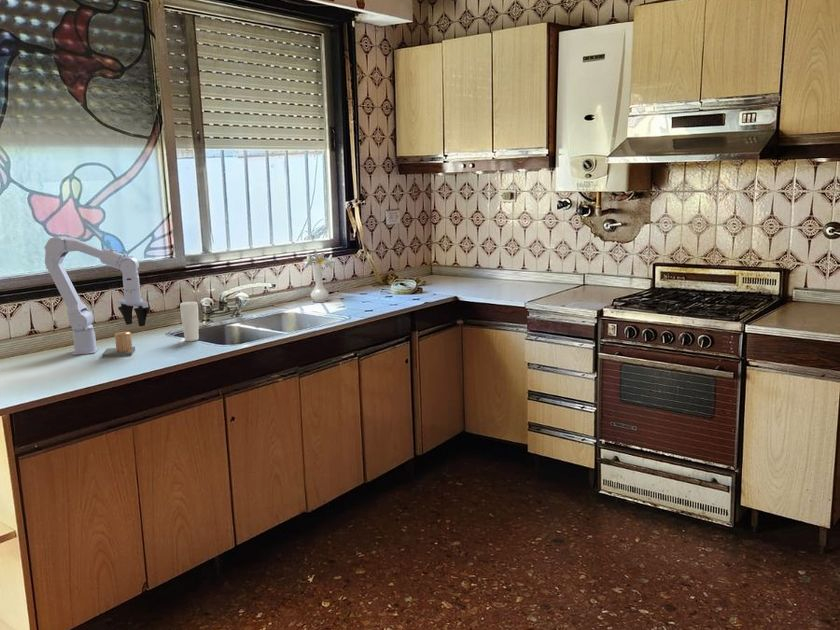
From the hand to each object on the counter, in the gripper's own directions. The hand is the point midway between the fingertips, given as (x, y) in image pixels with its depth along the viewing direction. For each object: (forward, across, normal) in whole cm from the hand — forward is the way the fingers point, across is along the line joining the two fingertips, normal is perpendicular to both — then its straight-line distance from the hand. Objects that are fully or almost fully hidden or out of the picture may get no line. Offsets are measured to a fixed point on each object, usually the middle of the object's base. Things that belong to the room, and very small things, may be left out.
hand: (135, 325), depth 280 cm
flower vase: (+10, +5, -114) cm, 114 cm away
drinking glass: (+10, -6, -20) cm, 24 cm away
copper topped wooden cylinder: (+8, -1, +7) cm, 11 cm away
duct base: (+9, +1, +8) cm, 12 cm away
